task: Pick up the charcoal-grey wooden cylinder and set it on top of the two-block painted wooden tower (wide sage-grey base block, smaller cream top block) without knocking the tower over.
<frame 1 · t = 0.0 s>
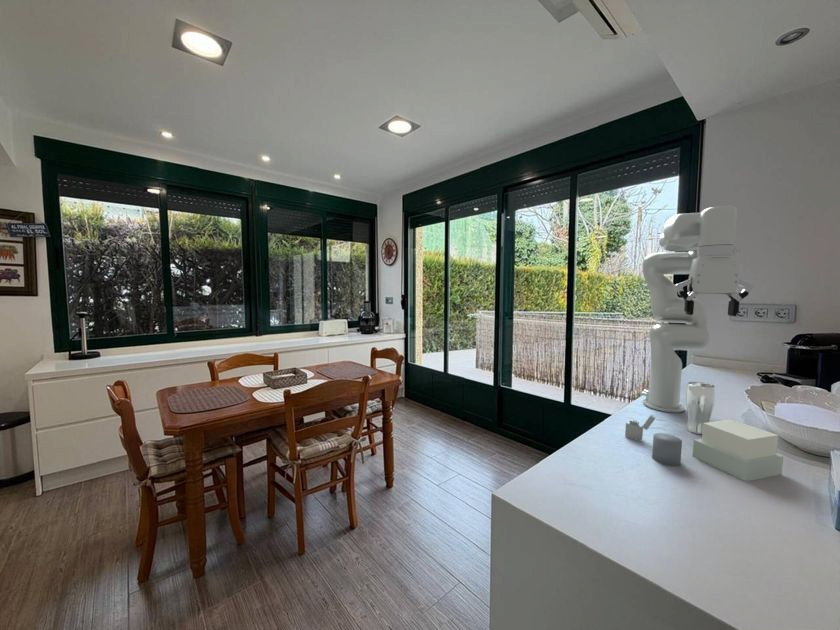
hand: (710, 315, 95), 37 cm above the kitchen counter, tool pointing down, fingers open, 9 cm apart
tower bottom block: (734, 466, 86), on the kitchen counter, touching tower top block
lighter: (639, 440, 100), on the kitchen counter
tower top block: (737, 447, 86), point 5 cm above the kitchen counter, touching tower bottom block
cylinder: (665, 460, 88), on the kitchen counter
beer glass: (697, 431, 107), on the kitchen counter
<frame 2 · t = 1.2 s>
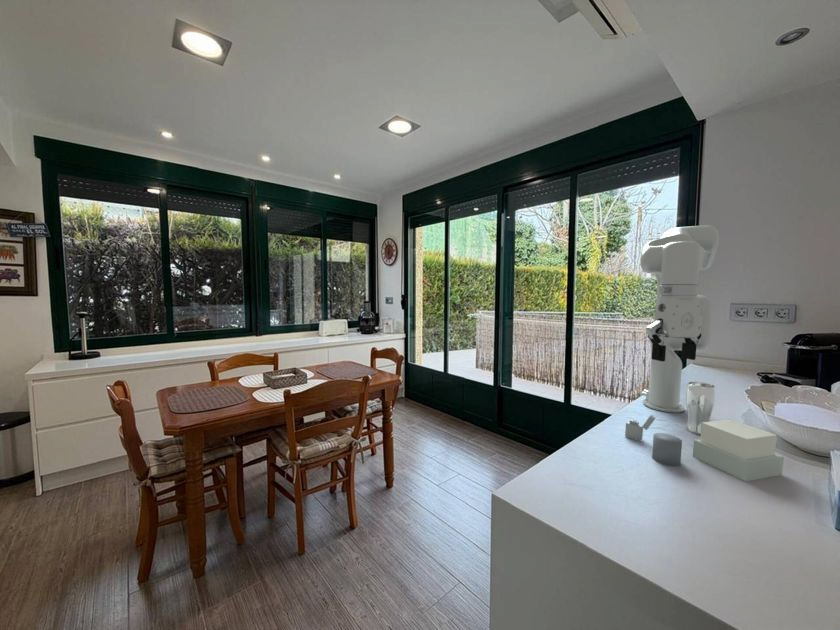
hand: (673, 359, 86), 27 cm above the kitchen counter, tool pointing down, fingers open, 9 cm apart
nothing on the kitchen counter moved.
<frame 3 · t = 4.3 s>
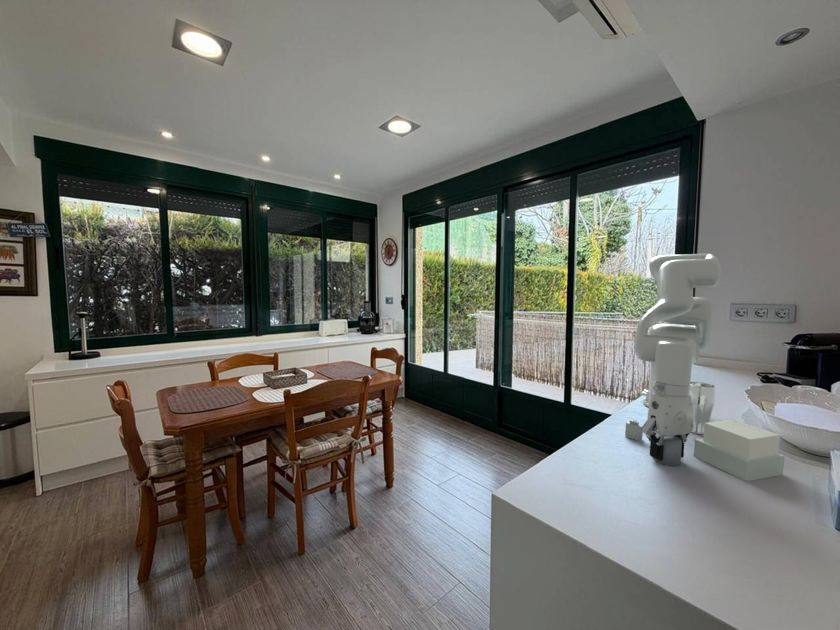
hand: (666, 456, 88), 1 cm above the kitchen counter, tool pointing down, fingers closed on cylinder, 6 cm apart
cylinder: (666, 460, 88), on the kitchen counter, touching gripper
everything else where it was.
when the fingers open (13 cm above the kitchen counter, at t = 10.5 s): cylinder drops 2 cm, resting on tower top block.
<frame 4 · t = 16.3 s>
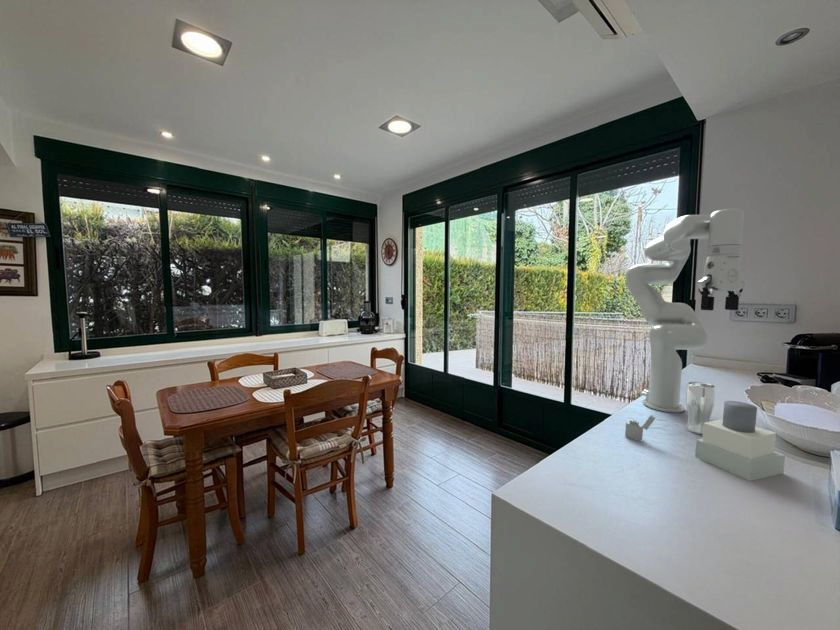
hand: (719, 309, 102), 38 cm above the kitchen counter, tool pointing down, fingers open, 9 cm apart
tower top block: (737, 446, 86), point 5 cm above the kitchen counter, touching cylinder, tower bottom block
cylinder: (738, 427, 86), point 10 cm above the kitchen counter, touching tower top block
everything else where it was.
at the end: cylinder 0.2 cm off-centre on the tower top block, point 5.0 cm above the tower top block's base; cylinder tilted 0°; tower top block moved 0.8 cm from its start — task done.
